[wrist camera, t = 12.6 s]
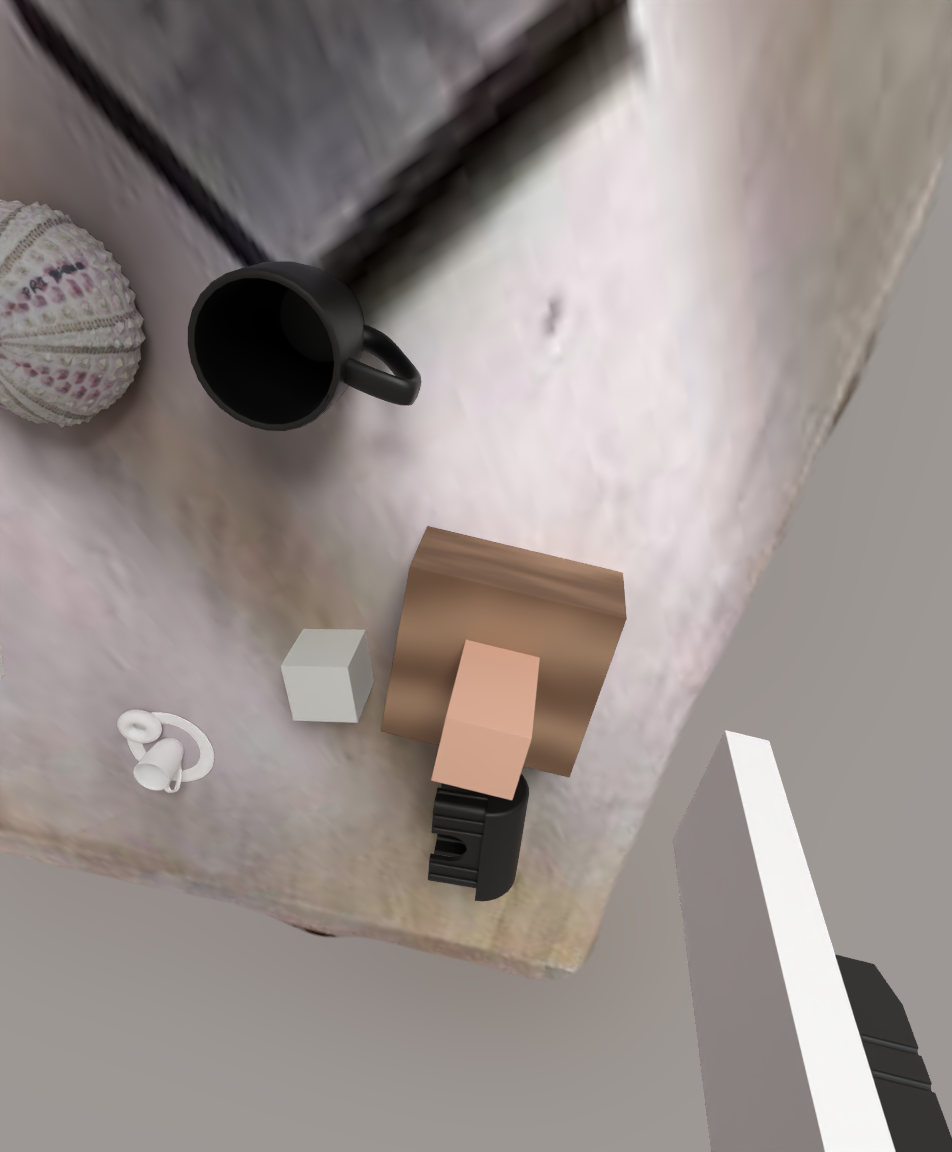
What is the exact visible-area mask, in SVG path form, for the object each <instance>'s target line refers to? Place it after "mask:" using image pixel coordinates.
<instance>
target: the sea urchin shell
mask: <svg viewBox="0 0 952 1152" xmlns="http://www.w3.org/2000/svg"><path fill="white" fill-rule="evenodd" d="M135 297H136V295H135V293H134V292H133V291H132V290H131V289H130V288H129V280H128V279H127V278H126V277H125V276H124V275H123V274H122V271H121V265H119V264H117V263H116V261H115V260H114V258H113V254H112V253H110V252H108V251H106V250H105V248H104V244H103V242H101V241H98V240H95V238H94V237H93V236H92V235H89V233H88V232H87V230H85V229H83V228H79V227H77V226H76V225H75V224H74V223H73V222H72V220H71V218H70V215H64V214H63V213H62V211H59V210H52V209H51V208H50V207H49V206H48V205H47V204H44V205H40V204H39V203H38V202H35V203H33V204H31V205H24V204H23V203H21V202H20V201H18V200H14V201H10V202H7V201H4V200H1V199H0V408H2V409H4V410H6V411H8V412H11V413H13V414H16V415H19V416H20V417H21V418H24V419H26V420H27V421H30V420H32V421H33V422H35V423H36V424H37V423H42V422H43V423H49V422H53V423H56V424H58V425H59V426H61V427H64V426H65V425H66V426H70V427H72V426H73V425H74V424H81V423H82V422H90V419H91V418H92V417H94V416H96V414H97V413H99V411H100V410H101V409H109V406H110V404H113V403H115V402H116V400H117V399H119V398H121V397H122V394H123V393H125V392H126V390H127V387H128V386H129V384H131V383H132V382H133V381H134V375H135V374H136V371H137V370H138V369H139V365H138V362H139V361H140V360H141V352H140V348H141V344H142V343H143V341H144V340H145V339H146V337H145V336H144V333H143V331H142V329H141V326H142V323H143V321H144V319H143V318H142V316H141V315H140V314H139V312H138V311H137V310H136V307H135V304H134V300H135Z"/></svg>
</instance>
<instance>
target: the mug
mask: <svg viewBox="0 0 952 1152" xmlns="http://www.w3.org/2000/svg"><path fill="white" fill-rule="evenodd" d="M188 348H189V353H190V358H191V363H192V365H193V368H194V370H195V373H196V375H197V378H198V380H199V381H200V383H201V384H202V386H203V388H204V389H205V391H206V392H207V394H208V395H209V396H210V397H211V398H212V399H213V401H214V402H215V403H216V404H217V405H218V406H219V407H220V408H221V409H222V410H224V411H225V412H226V413H228V414H229V415H231V416H232V417H233V418H235V419H236V420H239V421H241V422H243V423H245V424H247V425H249V426H251V427H255V428H260V429H264V430H271V431H286V430H291V429H296V428H300V427H302V426H304V425H306V424H308V423H310V422H312V421H314V420H316V419H317V418H318V417H319V416H320V415H321V414H322V413H324V412H325V411H326V410H327V409H328V408H329V407H330V406H331V405H332V404H333V403H334V402H335V401H336V400H337V399H338V398H339V397H340V396H341V395H342V394H343V392H344V391H345V389H346V388H347V387H348V385H349V386H351V387H353V388H355V389H357V390H360V391H362V392H364V393H367V394H369V395H372V396H374V397H377V398H379V399H382V400H385V401H388V402H391V403H394V404H398V405H412V404H413V403H414V401H415V400H416V398H417V396H418V393H419V390H420V386H421V377H420V374H419V372H418V370H417V369H416V368H415V366H414V365H413V364H412V363H411V361H410V360H409V359H408V358H407V357H406V355H405V354H404V353H403V352H402V351H401V350H400V348H399V347H398V346H397V345H396V344H395V343H394V342H393V341H392V340H391V339H390V338H389V337H388V336H386V335H385V334H383V333H382V332H380V331H378V330H376V329H374V328H372V327H369V326H367V325H364V318H363V313H362V309H361V306H360V304H359V302H358V300H357V298H356V296H355V295H354V293H353V292H352V291H351V290H350V289H349V287H348V286H347V285H345V284H344V283H343V282H342V281H340V280H339V279H337V278H335V277H333V276H332V275H330V274H328V273H326V272H324V271H322V270H320V269H318V268H315V267H313V266H309V265H304V264H300V263H296V262H263V263H259V264H256V265H252V266H249V267H245V268H241V269H238V270H235V271H232V272H229V273H226V274H224V275H223V276H221V277H219V278H218V279H216V280H214V281H213V282H211V283H210V285H209V286H208V287H207V288H206V289H205V290H204V291H203V292H202V293H201V294H200V296H199V298H198V300H197V302H196V304H195V306H194V307H193V309H192V313H191V317H190V321H189V325H188ZM362 350H364V351H367V352H369V353H371V354H373V355H375V356H376V357H378V358H379V359H380V360H381V361H383V362H384V363H385V364H386V365H387V366H388V368H389V369H390V370H391V371H392V372H393V373H394V375H395V376H394V375H391V374H388V373H385V372H383V371H380V370H378V369H375V368H373V367H370V366H368V365H366V364H363V363H361V362H359V361H360V358H361V356H362Z"/></svg>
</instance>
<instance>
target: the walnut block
mask: <svg viewBox="0 0 952 1152" xmlns="http://www.w3.org/2000/svg"><path fill="white" fill-rule="evenodd" d="M626 619H627V618H626V606H625V593H624V581H623V573H621V572H617V571H613V570H609V569H604V568H600V567H596V566H592V565H588V564H584V563H579V562H575V561H571V560H567V559H563V558H559V557H554V556H550V555H546V554H542V553H538V552H533V551H529V550H525V549H521V548H517V547H513V546H508V545H504V544H500V543H496V542H492V541H487V540H483V539H479V538H475V537H471V536H467V535H462V534H458V533H454V532H450V531H446V530H442V529H437V528H433V527H429V526H427V529H426V531H425V533H424V536H423V538H422V540H421V542H420V545H419V547H418V549H417V551H416V554H415V556H414V558H413V561H412V563H411V565H410V569H409V575H408V580H407V586H406V591H405V597H404V603H403V608H402V614H401V620H400V625H399V631H398V637H397V642H396V648H395V654H394V659H393V665H392V670H391V676H390V682H389V687H388V693H387V699H386V704H385V710H384V716H383V721H382V727H381V732H385V733H390V734H394V735H398V736H402V737H406V738H410V739H414V740H418V741H422V742H426V743H430V744H435V745H440V741H441V736H442V732H443V728H444V724H445V719H446V715H447V711H448V707H449V704H450V700H451V696H452V692H453V688H454V684H455V680H456V676H457V672H458V668H459V665H460V661H461V657H462V653H463V649H464V645H465V641H466V640H469V641H474V642H478V643H482V644H486V645H490V646H494V647H498V648H502V649H506V650H511V651H515V652H519V653H523V654H527V655H531V656H535V657H539V658H540V660H539V670H538V680H537V690H536V700H535V710H534V720H533V731H532V739H531V743H530V746H529V749H528V752H527V755H526V758H525V762H524V765H523V766H525V767H529V768H533V769H537V770H541V771H545V772H549V773H553V774H557V775H561V776H566V777H570V774H571V772H572V769H573V766H574V763H575V760H576V758H577V755H578V752H579V749H580V746H581V744H582V741H583V738H584V735H585V733H586V730H587V727H588V724H589V721H590V719H591V716H592V713H593V710H594V708H595V705H596V702H597V699H598V696H599V694H600V691H601V688H602V685H603V683H604V680H605V677H606V674H607V671H608V669H609V666H610V663H611V660H612V658H613V655H614V652H615V649H616V646H617V644H618V641H619V638H620V635H621V632H622V630H623V627H624V624H625V621H626Z"/></svg>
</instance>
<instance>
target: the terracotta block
mask: <svg viewBox="0 0 952 1152" xmlns="http://www.w3.org/2000/svg"><path fill="white" fill-rule="evenodd" d="M539 660H540V658H539V657H535V656H531V655H527V654H523V653H519V652H515V651H511V650H506V649H502V648H498V647H494V646H490V645H486V644H482V643H478V642H474V641H469V640H466V641H465V645H464V649H463V653H462V657H461V661H460V665H459V668H458V672H457V676H456V680H455V684H454V688H453V692H452V696H451V700H450V704H449V707H448V711H447V715H446V719H445V724H444V728H443V732H442V736H441V741H440V745H439V749H438V753H437V758H436V762H435V766H434V771H433V775H432V779H431V781H435V782H440V783H444V784H448V785H452V786H456V787H460V788H464V789H468V790H472V791H476V792H480V793H484V794H488V795H492V796H496V797H501V798H505V799H509V800H513V796H514V793H515V790H516V787H517V784H518V781H519V777H520V774H521V771H522V768H523V765H524V762H525V758H526V755H527V752H528V749H529V746H530V743H531V739H532V731H533V720H534V710H535V700H536V690H537V680H538V670H539Z"/></svg>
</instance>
